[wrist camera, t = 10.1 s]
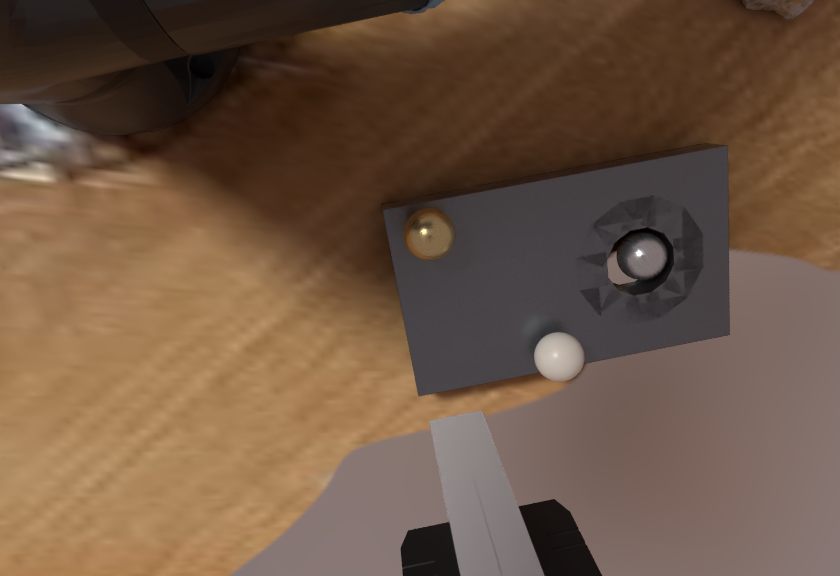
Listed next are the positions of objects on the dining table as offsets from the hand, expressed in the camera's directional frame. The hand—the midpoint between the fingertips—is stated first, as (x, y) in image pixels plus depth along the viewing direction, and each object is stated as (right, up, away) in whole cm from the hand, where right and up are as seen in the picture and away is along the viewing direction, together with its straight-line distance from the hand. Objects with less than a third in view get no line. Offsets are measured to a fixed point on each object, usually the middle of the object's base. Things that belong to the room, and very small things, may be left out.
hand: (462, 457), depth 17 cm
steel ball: (+14, +7, +23) cm, 28 cm away
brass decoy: (-1, +8, +19) cm, 20 cm away
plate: (+8, +6, +24) cm, 27 cm away
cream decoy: (+8, 0, +22) cm, 23 cm away
